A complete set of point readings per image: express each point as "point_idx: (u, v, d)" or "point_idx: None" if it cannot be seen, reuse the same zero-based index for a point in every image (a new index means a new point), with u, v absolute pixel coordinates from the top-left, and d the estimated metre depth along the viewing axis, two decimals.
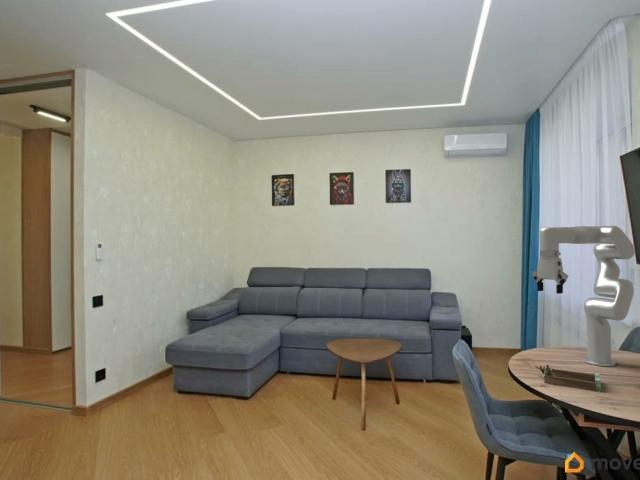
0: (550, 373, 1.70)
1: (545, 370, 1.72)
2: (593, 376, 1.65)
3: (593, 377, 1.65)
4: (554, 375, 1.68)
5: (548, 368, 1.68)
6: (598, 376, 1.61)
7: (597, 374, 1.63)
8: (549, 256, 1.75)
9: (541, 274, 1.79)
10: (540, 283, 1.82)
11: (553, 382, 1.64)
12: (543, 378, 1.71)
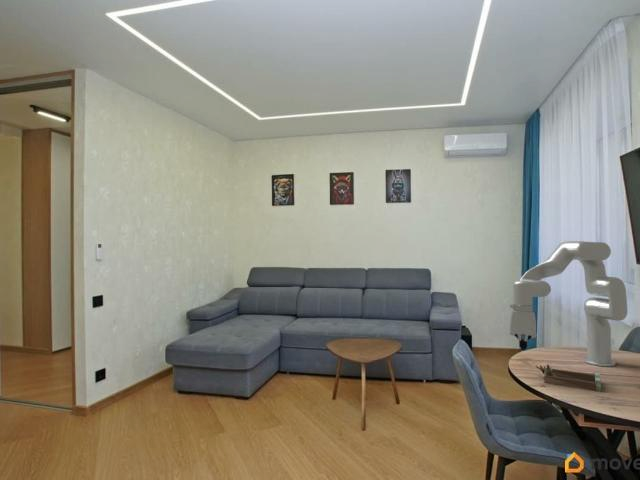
0: (550, 373, 1.70)
1: (545, 370, 1.72)
2: (593, 376, 1.65)
3: (593, 377, 1.65)
4: (554, 375, 1.68)
5: (548, 368, 1.68)
6: (598, 376, 1.61)
7: (597, 374, 1.63)
8: None
9: None
10: (523, 341, 1.75)
11: (553, 382, 1.64)
12: (543, 378, 1.70)
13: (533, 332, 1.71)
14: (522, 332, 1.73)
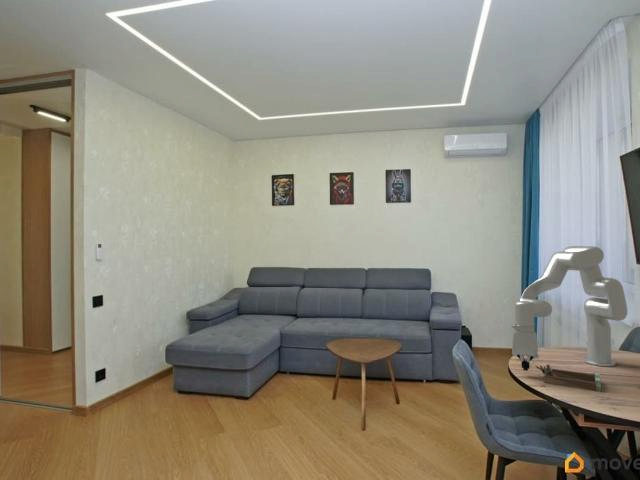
0: (551, 373, 1.70)
1: (546, 370, 1.72)
2: (593, 376, 1.65)
3: (593, 377, 1.65)
4: (555, 375, 1.68)
5: (548, 368, 1.68)
6: (598, 376, 1.61)
7: (597, 374, 1.63)
8: None
9: None
10: (525, 361, 1.75)
11: (553, 382, 1.64)
12: None
13: (535, 353, 1.71)
14: (524, 353, 1.73)
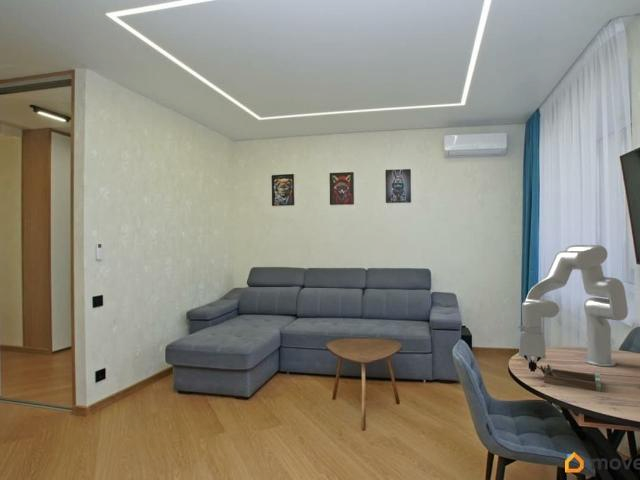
0: (551, 373, 1.70)
1: (546, 370, 1.72)
2: (593, 376, 1.65)
3: (593, 377, 1.65)
4: (555, 375, 1.68)
5: (549, 368, 1.68)
6: (598, 376, 1.61)
7: (597, 374, 1.63)
8: None
9: None
10: (533, 362, 1.74)
11: (553, 382, 1.64)
12: None
13: (543, 354, 1.69)
14: (531, 354, 1.71)
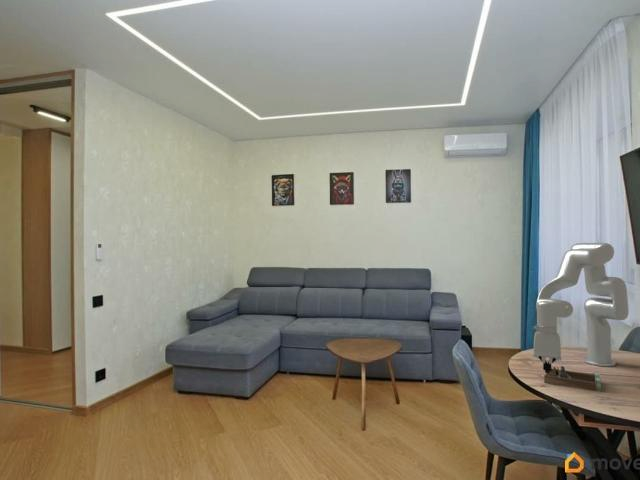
0: (565, 375, 1.67)
1: (560, 372, 1.69)
2: (593, 376, 1.65)
3: (593, 377, 1.65)
4: (570, 377, 1.66)
5: None
6: (598, 376, 1.61)
7: (597, 374, 1.63)
8: None
9: None
10: None
11: (553, 382, 1.64)
12: None
13: (558, 355, 1.65)
14: (546, 354, 1.68)
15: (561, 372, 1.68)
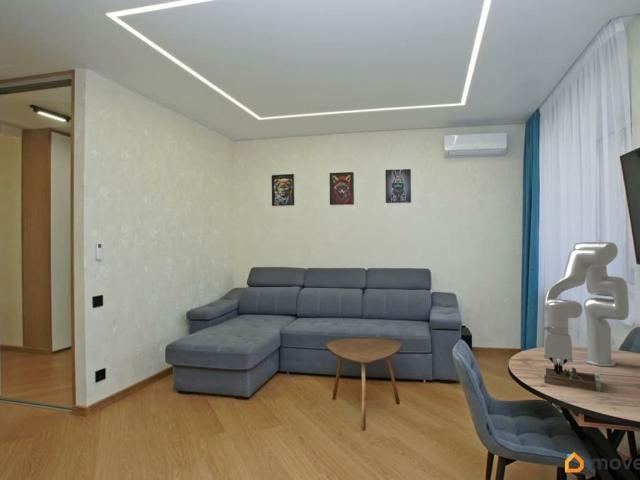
0: (577, 376, 1.65)
1: (571, 373, 1.67)
2: (593, 376, 1.65)
3: (593, 377, 1.65)
4: (581, 379, 1.64)
5: None
6: (598, 376, 1.61)
7: (597, 374, 1.63)
8: None
9: None
10: (558, 365, 1.68)
11: (553, 382, 1.64)
12: None
13: (570, 356, 1.63)
14: (558, 356, 1.65)
15: (572, 374, 1.66)
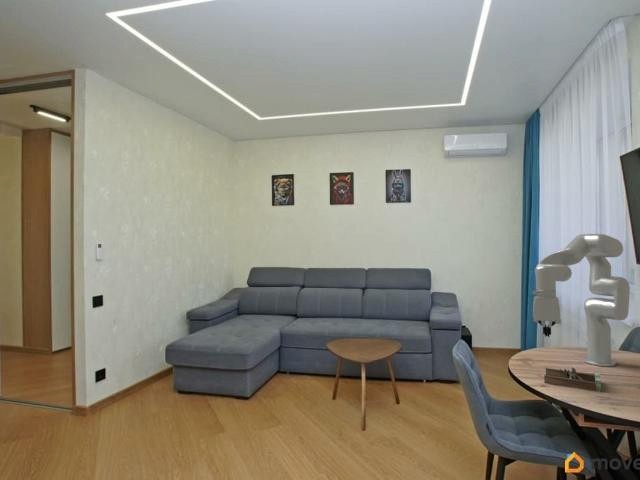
0: (576, 377, 1.65)
1: (571, 373, 1.67)
2: (593, 376, 1.65)
3: (593, 377, 1.65)
4: (581, 379, 1.64)
5: (575, 372, 1.63)
6: (598, 376, 1.61)
7: (597, 374, 1.63)
8: None
9: None
10: None
11: (553, 382, 1.64)
12: None
13: (557, 318, 1.66)
14: (546, 318, 1.68)
15: (572, 374, 1.66)
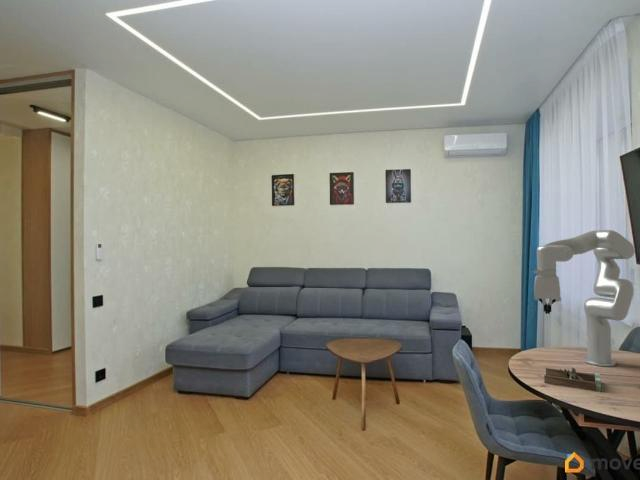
0: (576, 377, 1.65)
1: (571, 373, 1.67)
2: (593, 376, 1.65)
3: (593, 377, 1.65)
4: (581, 379, 1.64)
5: (575, 372, 1.63)
6: (598, 376, 1.61)
7: (597, 374, 1.63)
8: None
9: None
10: None
11: (553, 382, 1.64)
12: None
13: (558, 295, 1.74)
14: (546, 296, 1.76)
15: (572, 374, 1.66)
